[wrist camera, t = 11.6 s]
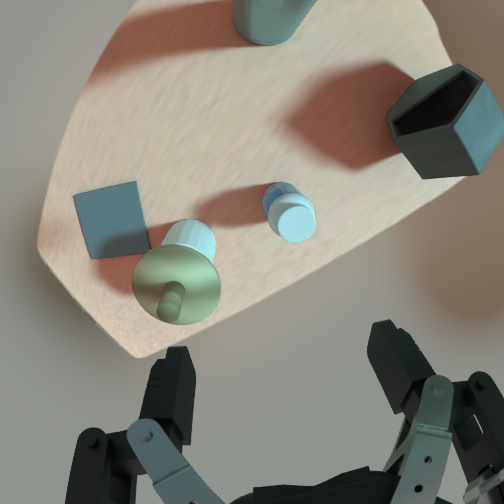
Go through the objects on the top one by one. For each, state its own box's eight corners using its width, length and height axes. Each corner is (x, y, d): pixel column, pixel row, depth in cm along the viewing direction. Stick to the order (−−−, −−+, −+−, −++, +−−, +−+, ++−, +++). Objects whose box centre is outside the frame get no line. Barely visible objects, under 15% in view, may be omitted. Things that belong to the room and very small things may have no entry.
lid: (124, 249, 34) (106, 273, 28) (213, 238, 34) (209, 262, 28) (148, 321, 39) (138, 350, 33) (226, 316, 39) (226, 346, 33)
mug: (154, 272, 46) (138, 305, 37) (176, 210, 42) (161, 234, 33) (196, 289, 48) (189, 324, 39) (223, 230, 44) (220, 258, 35)
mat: (75, 194, 39) (73, 195, 39) (136, 181, 39) (134, 181, 39) (92, 258, 44) (91, 259, 44) (151, 251, 45) (150, 252, 44)
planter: (448, 56, 27) (503, 93, 15) (471, 91, 30) (525, 146, 18) (381, 104, 40) (397, 162, 28) (407, 135, 42) (429, 203, 30)
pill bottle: (268, 224, 44) (279, 255, 34) (256, 188, 41) (264, 210, 31) (305, 212, 43) (326, 239, 33) (294, 176, 41) (314, 193, 31)
